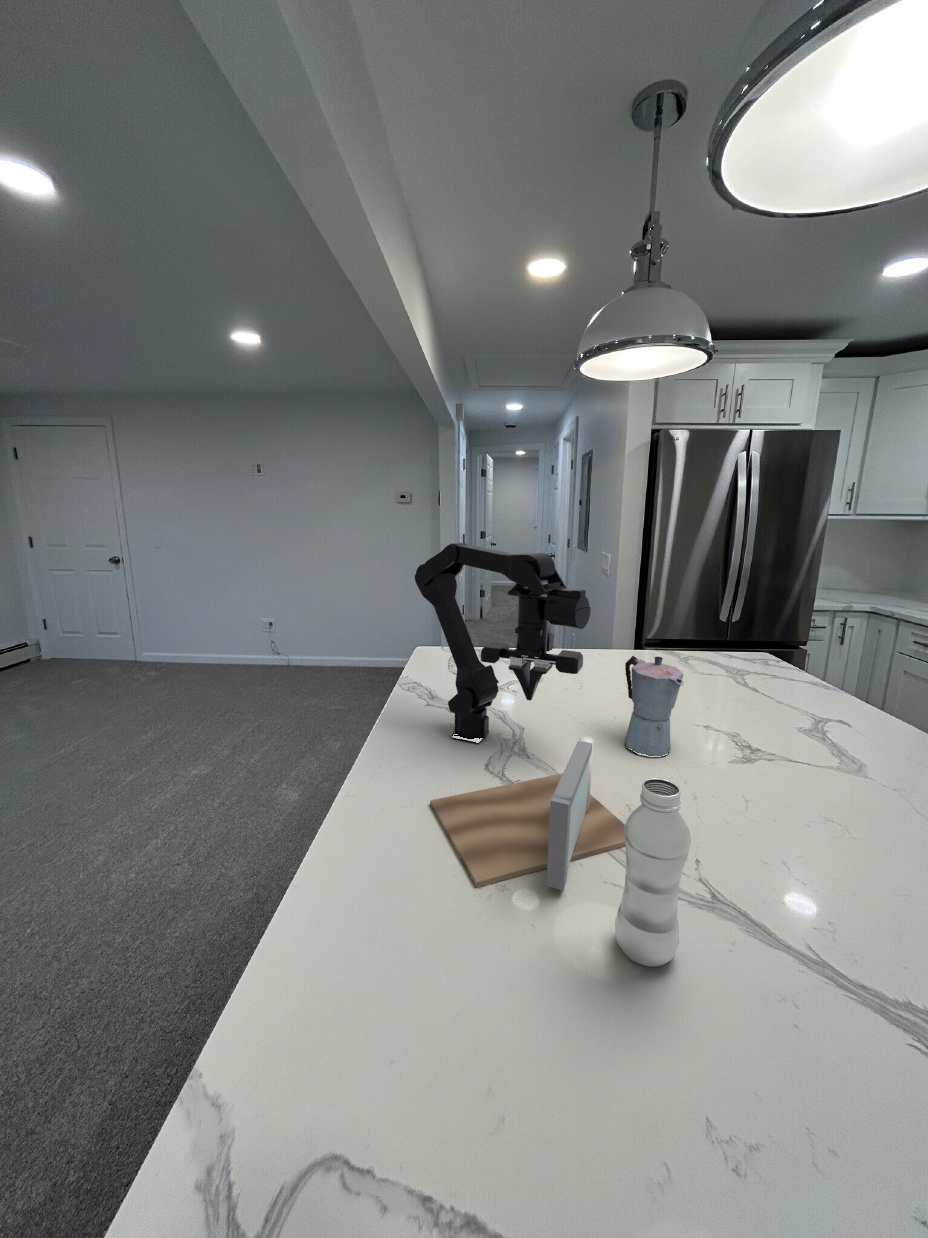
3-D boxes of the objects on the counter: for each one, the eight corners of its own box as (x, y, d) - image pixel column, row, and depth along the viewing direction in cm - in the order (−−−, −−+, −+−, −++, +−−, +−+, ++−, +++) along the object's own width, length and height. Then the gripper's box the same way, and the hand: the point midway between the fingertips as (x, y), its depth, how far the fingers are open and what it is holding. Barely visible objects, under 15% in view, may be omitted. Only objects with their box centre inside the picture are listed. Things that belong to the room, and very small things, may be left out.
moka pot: (658, 769, 95) (667, 668, 91) (601, 737, 108) (607, 648, 104) (692, 759, 99) (703, 662, 95) (633, 729, 113) (640, 643, 108)
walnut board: (430, 804, 83) (430, 800, 83) (565, 776, 92) (565, 772, 92) (476, 888, 65) (476, 882, 65) (639, 842, 74) (639, 837, 74)
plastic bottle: (604, 928, 59) (617, 772, 54) (660, 925, 59) (676, 770, 55) (626, 979, 52) (642, 806, 48) (688, 974, 53) (710, 803, 49)
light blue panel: (576, 803, 82) (580, 735, 79) (589, 806, 81) (594, 737, 78) (546, 885, 64) (550, 800, 61) (563, 890, 63) (568, 804, 60)
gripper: (590, 617, 97) (586, 693, 101) (500, 609, 105) (498, 680, 108) (579, 629, 87) (574, 713, 91) (480, 619, 95) (478, 697, 98)
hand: (529, 699), depth 97 cm, fingers closed
